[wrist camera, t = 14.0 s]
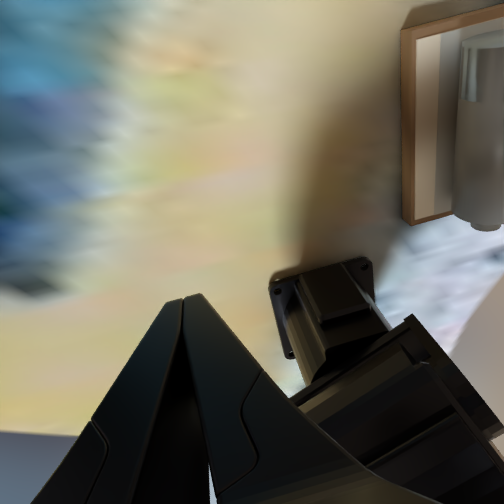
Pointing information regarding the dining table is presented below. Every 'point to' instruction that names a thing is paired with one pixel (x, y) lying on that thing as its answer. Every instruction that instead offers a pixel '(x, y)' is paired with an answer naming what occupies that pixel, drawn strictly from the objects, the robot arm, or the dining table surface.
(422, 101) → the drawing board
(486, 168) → the cylinder
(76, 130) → the dining table surface
